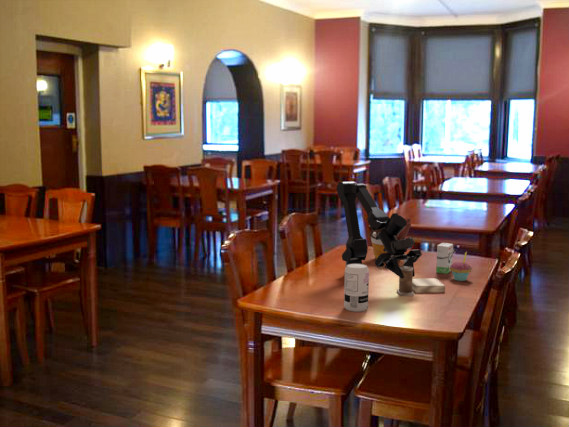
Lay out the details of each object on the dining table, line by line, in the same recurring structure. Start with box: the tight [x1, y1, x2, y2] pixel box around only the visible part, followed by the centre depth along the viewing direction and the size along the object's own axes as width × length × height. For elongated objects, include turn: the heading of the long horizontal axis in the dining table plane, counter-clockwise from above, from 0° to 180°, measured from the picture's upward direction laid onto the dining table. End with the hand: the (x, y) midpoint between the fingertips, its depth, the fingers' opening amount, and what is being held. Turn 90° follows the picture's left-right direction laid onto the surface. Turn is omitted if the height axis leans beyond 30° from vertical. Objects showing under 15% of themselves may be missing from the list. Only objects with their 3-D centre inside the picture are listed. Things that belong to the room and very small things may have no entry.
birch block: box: [412, 277, 446, 293], centre depth 244 cm, size 11×11×3 cm
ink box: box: [435, 242, 454, 275], centre depth 272 cm, size 9×5×12 cm, turn 150°
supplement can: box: [343, 263, 370, 313], centre depth 216 cm, size 8×8×15 cm
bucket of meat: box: [368, 217, 412, 260], centre depth 294 cm, size 20×16×20 cm
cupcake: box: [450, 250, 473, 282], centre depth 258 cm, size 9×8×12 cm
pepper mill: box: [396, 265, 415, 297], centre depth 236 cm, size 5×5×10 cm
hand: (408, 277), depth 235 cm, fingers closed on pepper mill, 5 cm apart
